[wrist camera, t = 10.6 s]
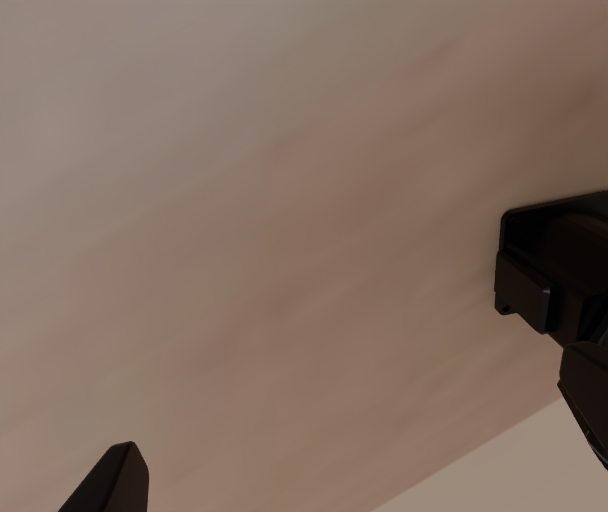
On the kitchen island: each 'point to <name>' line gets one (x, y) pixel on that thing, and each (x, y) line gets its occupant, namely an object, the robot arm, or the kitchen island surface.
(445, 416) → the kitchen island surface
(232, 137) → the kitchen island surface
